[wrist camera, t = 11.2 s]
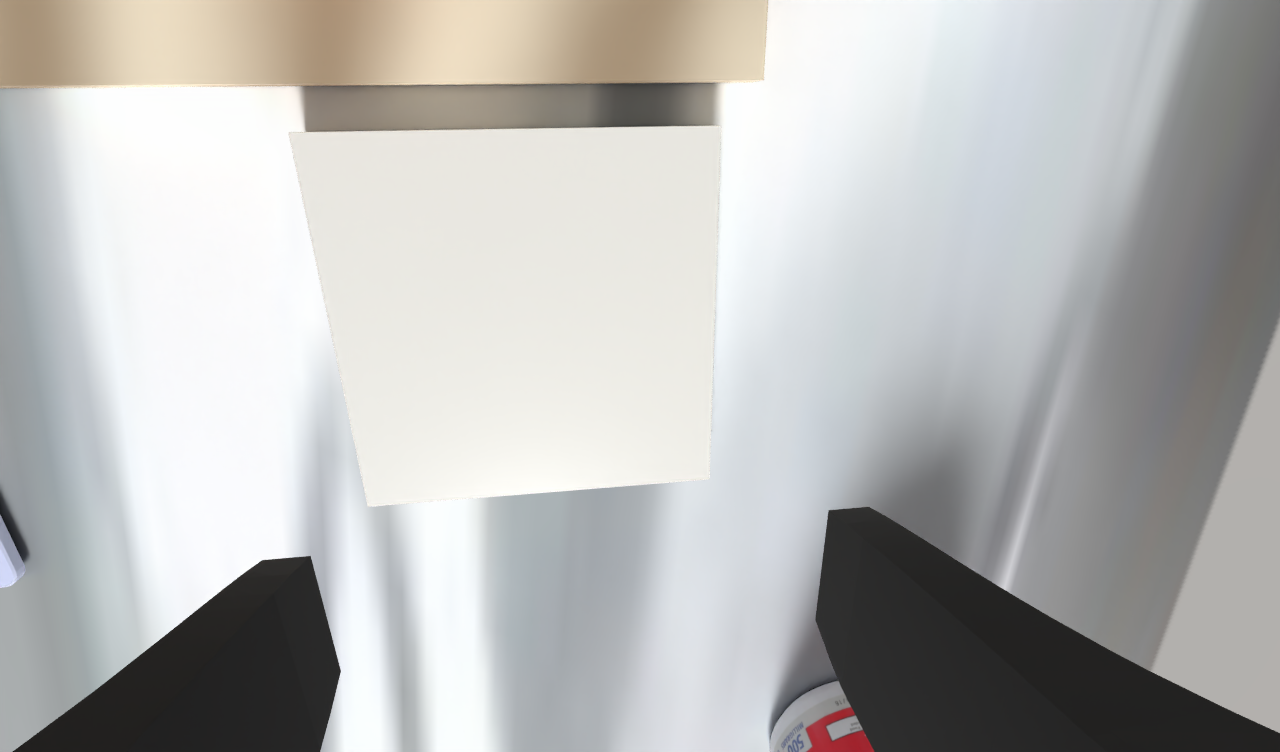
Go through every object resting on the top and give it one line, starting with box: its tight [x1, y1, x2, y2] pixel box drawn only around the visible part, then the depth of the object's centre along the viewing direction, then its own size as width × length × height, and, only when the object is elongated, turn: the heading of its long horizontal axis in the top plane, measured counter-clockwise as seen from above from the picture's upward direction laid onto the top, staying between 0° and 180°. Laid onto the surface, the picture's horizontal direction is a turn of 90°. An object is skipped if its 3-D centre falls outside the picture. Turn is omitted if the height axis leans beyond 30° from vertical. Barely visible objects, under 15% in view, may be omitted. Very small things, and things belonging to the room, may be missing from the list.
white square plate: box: [289, 125, 721, 507], centre depth 17 cm, size 10×10×1 cm
